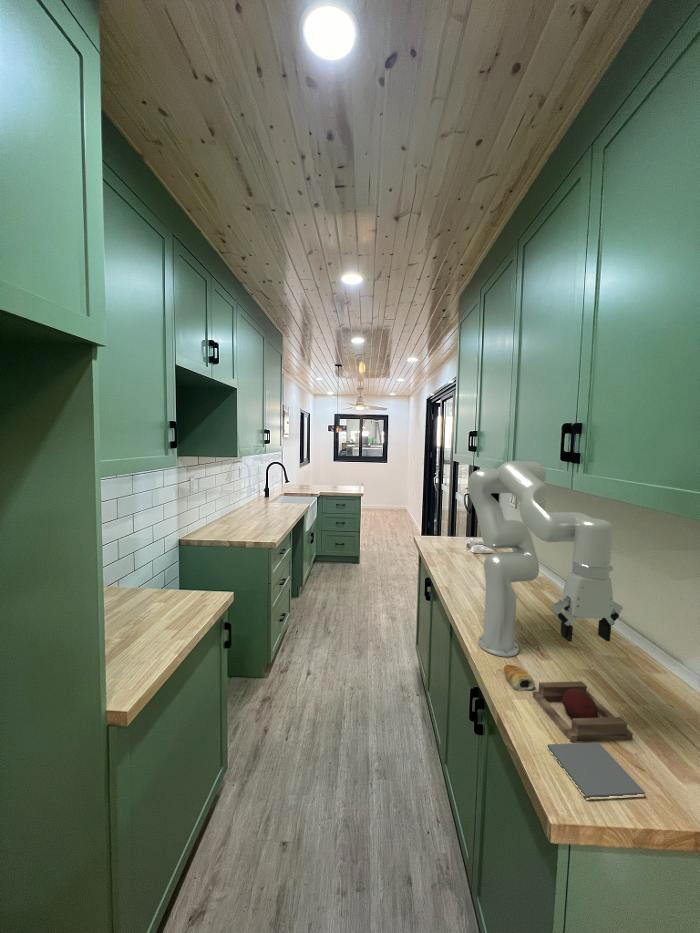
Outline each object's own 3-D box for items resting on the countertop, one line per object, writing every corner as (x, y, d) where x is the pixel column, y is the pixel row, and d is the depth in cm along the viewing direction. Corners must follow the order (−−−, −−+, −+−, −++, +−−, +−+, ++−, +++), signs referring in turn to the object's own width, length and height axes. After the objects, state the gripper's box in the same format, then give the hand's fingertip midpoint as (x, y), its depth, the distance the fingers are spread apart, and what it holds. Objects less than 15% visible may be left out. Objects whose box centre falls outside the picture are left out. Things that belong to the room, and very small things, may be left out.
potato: (591, 709, 96) (593, 686, 95) (601, 734, 87) (603, 710, 87) (558, 701, 98) (559, 679, 98) (565, 725, 90) (567, 701, 89)
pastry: (497, 671, 111) (498, 658, 111) (518, 670, 112) (519, 658, 111) (514, 692, 102) (515, 678, 101) (537, 691, 102) (538, 678, 102)
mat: (547, 748, 83) (547, 744, 82) (598, 746, 84) (598, 742, 83) (585, 800, 71) (586, 795, 71) (644, 797, 72) (645, 792, 72)
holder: (532, 696, 99) (533, 682, 99) (585, 695, 101) (586, 681, 100) (570, 742, 85) (571, 725, 84) (632, 739, 86) (633, 723, 86)
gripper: (612, 565, 94) (606, 630, 95) (546, 564, 93) (542, 631, 94) (637, 576, 87) (630, 646, 88) (566, 575, 85) (561, 647, 87)
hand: (584, 638), depth 91 cm, fingers open, 9 cm apart
